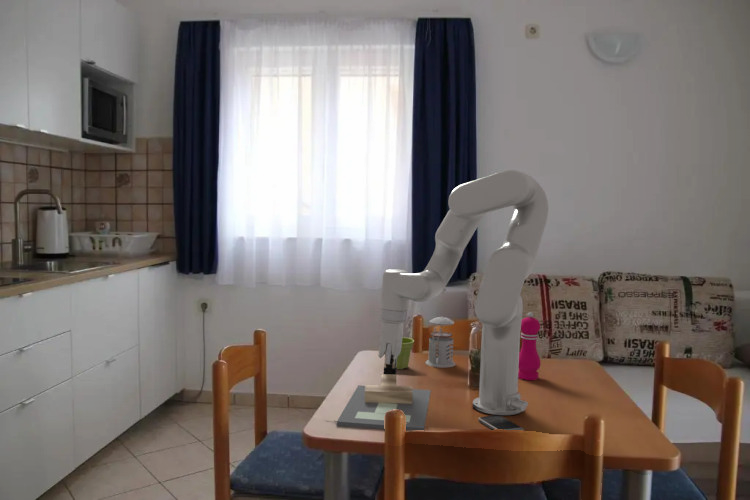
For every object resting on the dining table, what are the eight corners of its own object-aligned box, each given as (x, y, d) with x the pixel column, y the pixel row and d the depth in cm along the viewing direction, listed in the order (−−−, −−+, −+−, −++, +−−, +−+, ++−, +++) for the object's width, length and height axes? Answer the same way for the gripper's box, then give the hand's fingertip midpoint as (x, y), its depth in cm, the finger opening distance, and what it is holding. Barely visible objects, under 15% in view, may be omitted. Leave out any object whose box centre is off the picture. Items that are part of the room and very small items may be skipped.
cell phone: (498, 420, 154) (498, 414, 154) (525, 435, 144) (526, 429, 144) (476, 422, 152) (476, 416, 152) (502, 438, 142) (503, 432, 142)
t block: (366, 384, 172) (366, 373, 172) (410, 385, 172) (411, 374, 172) (364, 402, 160) (364, 391, 160) (412, 403, 160) (412, 392, 160)
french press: (459, 362, 209) (461, 286, 207) (449, 370, 198) (452, 290, 197) (430, 358, 213) (433, 284, 211) (419, 366, 202) (422, 288, 200)
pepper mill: (542, 377, 193) (545, 311, 192) (535, 382, 187) (539, 315, 186) (519, 373, 197) (522, 309, 196) (512, 378, 191) (515, 312, 189)
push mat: (358, 388, 175) (358, 385, 175) (430, 393, 173) (430, 390, 173) (336, 425, 146) (336, 421, 146) (423, 432, 143) (424, 427, 143)
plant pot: (413, 371, 196) (414, 343, 195) (383, 370, 196) (384, 342, 195) (412, 363, 205) (413, 337, 204) (383, 363, 205) (384, 336, 204)
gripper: (385, 309, 180) (380, 372, 181) (375, 318, 165) (370, 387, 167) (411, 312, 178) (406, 375, 180) (403, 321, 164) (398, 391, 165)
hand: (389, 381), depth 173 cm, fingers closed
